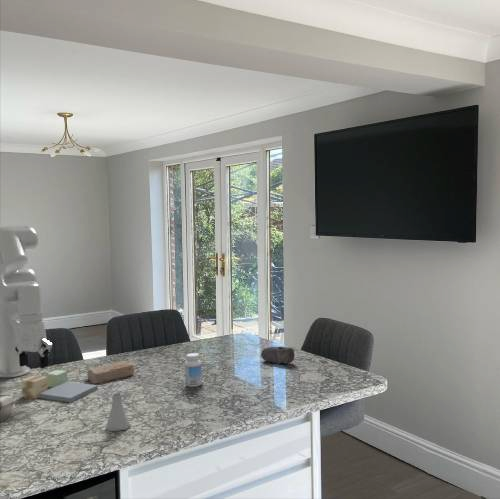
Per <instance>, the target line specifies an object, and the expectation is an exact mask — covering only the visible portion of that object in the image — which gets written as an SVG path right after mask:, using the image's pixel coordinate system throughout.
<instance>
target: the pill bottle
mask: <svg viewBox="0 0 500 499" xmlns="http://www.w3.org/2000/svg"><path fill="white" fill-rule="evenodd" d="M185 359H186V360H185V361H184V372H185V373H184V376H185V385H186V386H187V387H190V388H195V387H196V388H197V387H199V386H201V385H202V384H203V371H202V369H203V367H202V361H201V360H200V354H199V353H197V352H194V353H193V352H192V353H187V354H186V358H185Z"/></svg>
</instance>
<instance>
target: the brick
mask: <svg viewBox="0 0 500 499" xmlns="http://www.w3.org/2000/svg"><path fill="white" fill-rule="evenodd" d="M134 366H135V365H134V363H133V362H130V361H126V360H121V361H117V362H114V363H110V364H107V365H106V364H105V365H100V366H96V367H91V368H89V369H87V374H86V375H87V376H86V377H87V380H88V381H90V382H91V384H92V383H93V384H100V383H104V382H107V381H112V380H118V379H121V378H125V377H129V376H132V375H133V374H134V373H135V367H134Z"/></svg>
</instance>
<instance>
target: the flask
mask: <svg viewBox="0 0 500 499" xmlns="http://www.w3.org/2000/svg"><path fill="white" fill-rule="evenodd" d="M110 396H111V398H112V404H111V409H110V412H109V416H108V420H107V422H106V426H105V429H106V431H109V432H120V431H126V430H127V429H129V428H130V427H131V422H130V421H129V418H128V416H127V414H126V411H125V408H124V406H123V402H122V401H123V400H122V397H123V393H122V392H115V393H112V394H111V395H110Z"/></svg>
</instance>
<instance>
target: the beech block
mask: <svg viewBox="0 0 500 499" xmlns="http://www.w3.org/2000/svg"><path fill="white" fill-rule="evenodd" d="M20 382H21V395H22V396H21V397H23V398H29V399H37V398H39V393H42V392H44V391H46V390H49V388H48V384H47V376H43V375H37V374H36V375H34V374H33V375H32V376H29V377H26V378H23V379H21V381H20Z"/></svg>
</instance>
